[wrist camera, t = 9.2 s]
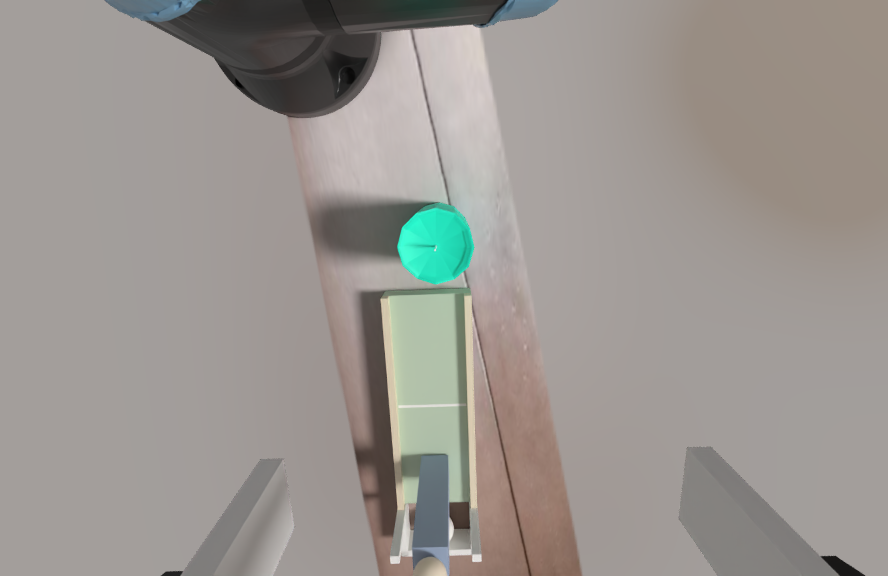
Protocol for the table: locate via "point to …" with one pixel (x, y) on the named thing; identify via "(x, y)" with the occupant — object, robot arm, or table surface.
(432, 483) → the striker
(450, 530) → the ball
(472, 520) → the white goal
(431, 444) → the pitch
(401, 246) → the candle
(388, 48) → the table surface
